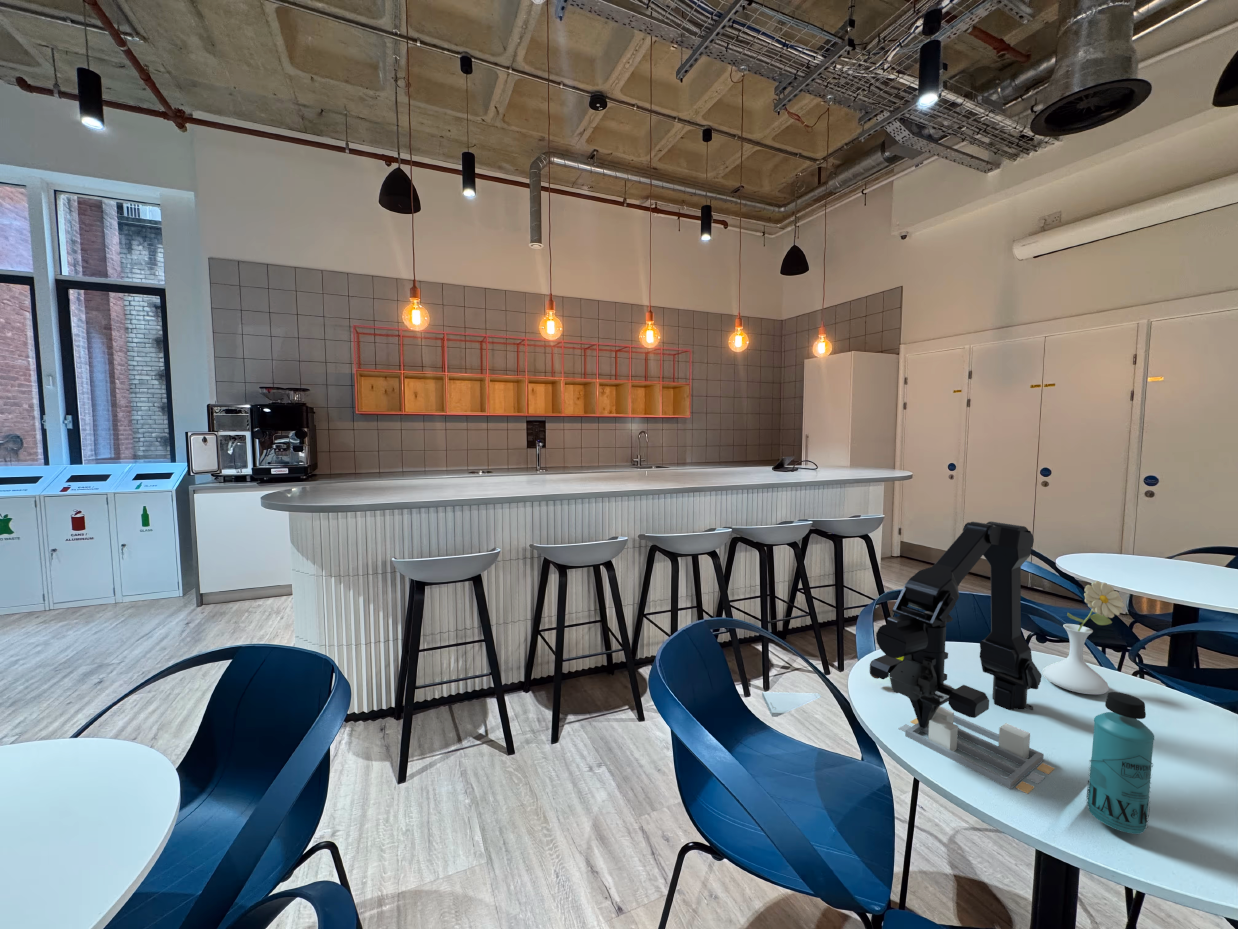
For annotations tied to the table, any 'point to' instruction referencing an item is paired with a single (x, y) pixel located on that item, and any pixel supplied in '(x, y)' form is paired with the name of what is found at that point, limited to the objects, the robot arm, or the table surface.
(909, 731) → the switch bank
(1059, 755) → the table surface
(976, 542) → the robot arm
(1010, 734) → the tab
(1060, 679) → the flower in vase
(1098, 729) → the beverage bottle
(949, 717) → the tab
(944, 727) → the tab
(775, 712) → the pale blue flat piece
